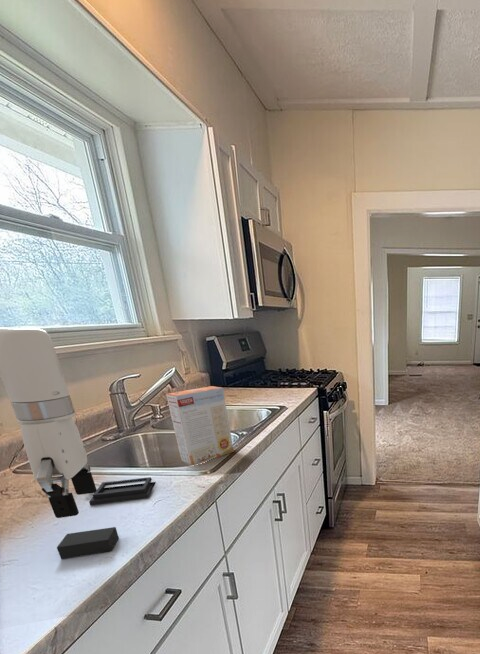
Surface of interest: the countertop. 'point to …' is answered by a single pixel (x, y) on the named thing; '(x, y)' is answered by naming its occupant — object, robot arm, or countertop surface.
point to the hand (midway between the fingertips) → (78, 503)
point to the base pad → (122, 491)
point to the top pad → (88, 542)
